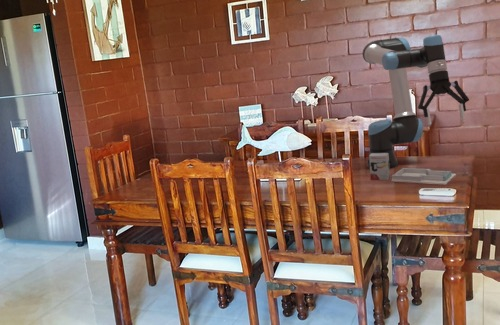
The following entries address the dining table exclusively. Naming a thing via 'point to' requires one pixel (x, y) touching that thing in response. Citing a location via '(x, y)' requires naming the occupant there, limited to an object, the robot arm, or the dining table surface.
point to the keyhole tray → (422, 176)
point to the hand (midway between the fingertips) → (446, 122)
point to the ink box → (379, 166)
